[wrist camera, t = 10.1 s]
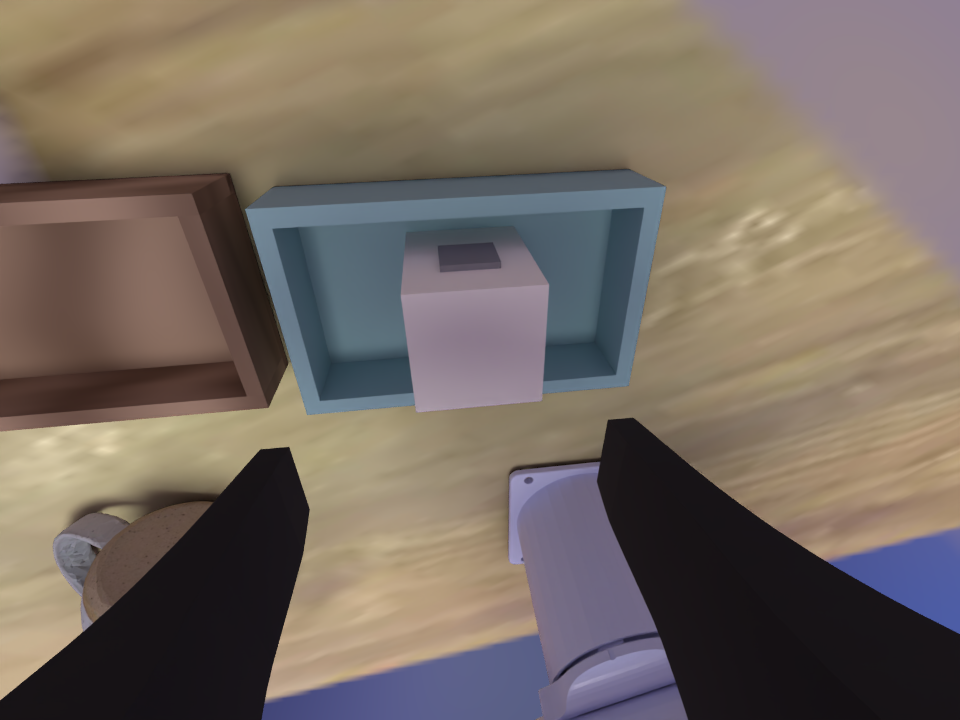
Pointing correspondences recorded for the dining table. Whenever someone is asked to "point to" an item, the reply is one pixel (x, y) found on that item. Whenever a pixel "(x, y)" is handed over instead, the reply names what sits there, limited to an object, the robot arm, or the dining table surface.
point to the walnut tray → (130, 303)
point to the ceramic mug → (118, 552)
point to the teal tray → (449, 206)
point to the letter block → (473, 318)
